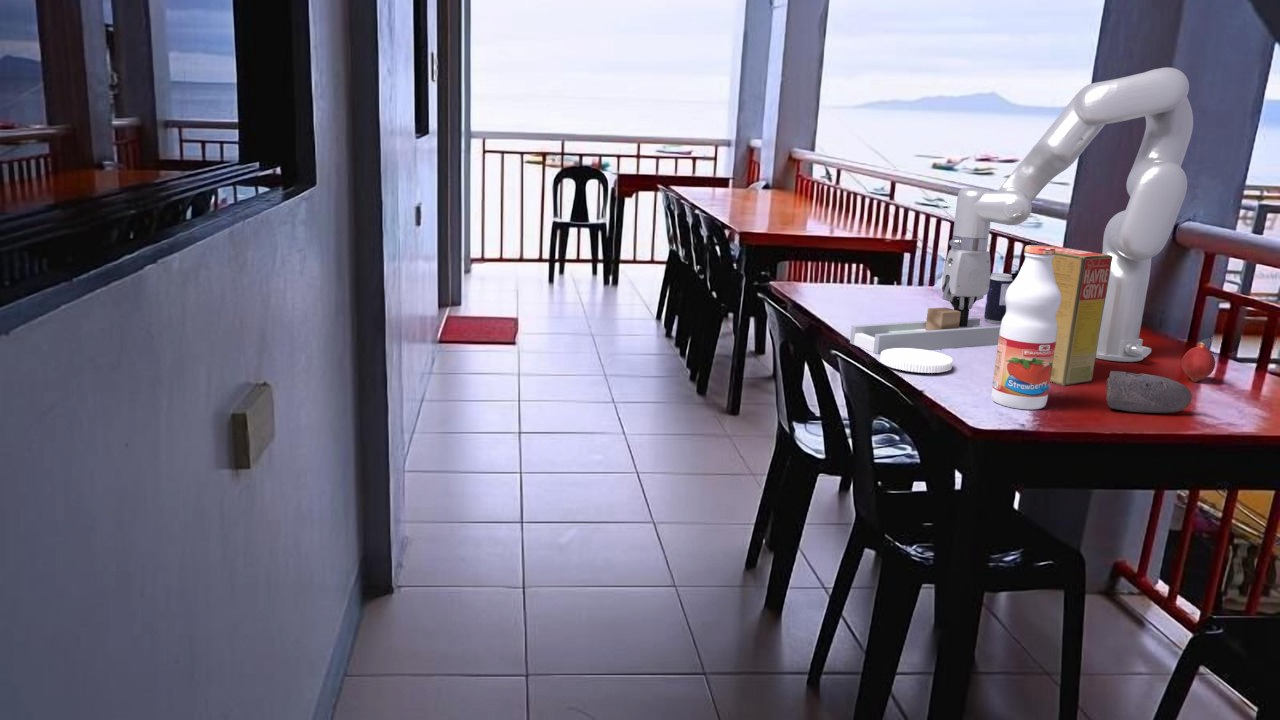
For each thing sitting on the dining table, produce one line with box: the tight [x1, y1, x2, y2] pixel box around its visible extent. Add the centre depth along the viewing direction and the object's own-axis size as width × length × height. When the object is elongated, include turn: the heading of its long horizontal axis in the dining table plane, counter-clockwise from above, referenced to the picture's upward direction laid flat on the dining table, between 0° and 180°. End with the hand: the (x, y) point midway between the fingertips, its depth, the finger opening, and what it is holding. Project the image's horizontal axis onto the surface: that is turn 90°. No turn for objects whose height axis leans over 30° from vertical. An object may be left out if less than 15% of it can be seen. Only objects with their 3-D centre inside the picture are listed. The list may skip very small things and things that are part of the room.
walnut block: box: [925, 306, 961, 331], centre depth 215 cm, size 5×5×5 cm
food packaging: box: [1048, 245, 1113, 387], centre depth 188 cm, size 13×9×25 cm
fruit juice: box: [990, 244, 1061, 410], centre depth 168 cm, size 9×9×28 cm
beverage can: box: [983, 272, 1014, 325], centre depth 239 cm, size 6×6×12 cm
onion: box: [1180, 342, 1216, 382], centre depth 190 cm, size 6×6×8 cm
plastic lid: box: [879, 348, 954, 374], centre depth 194 cm, size 14×14×2 cm
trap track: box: [849, 317, 1001, 355], centre depth 214 cm, size 10×35×4 cm, turn 113°
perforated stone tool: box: [1105, 370, 1193, 414], centre depth 168 cm, size 15×5×7 cm, turn 81°
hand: (959, 325), depth 217 cm, fingers closed
